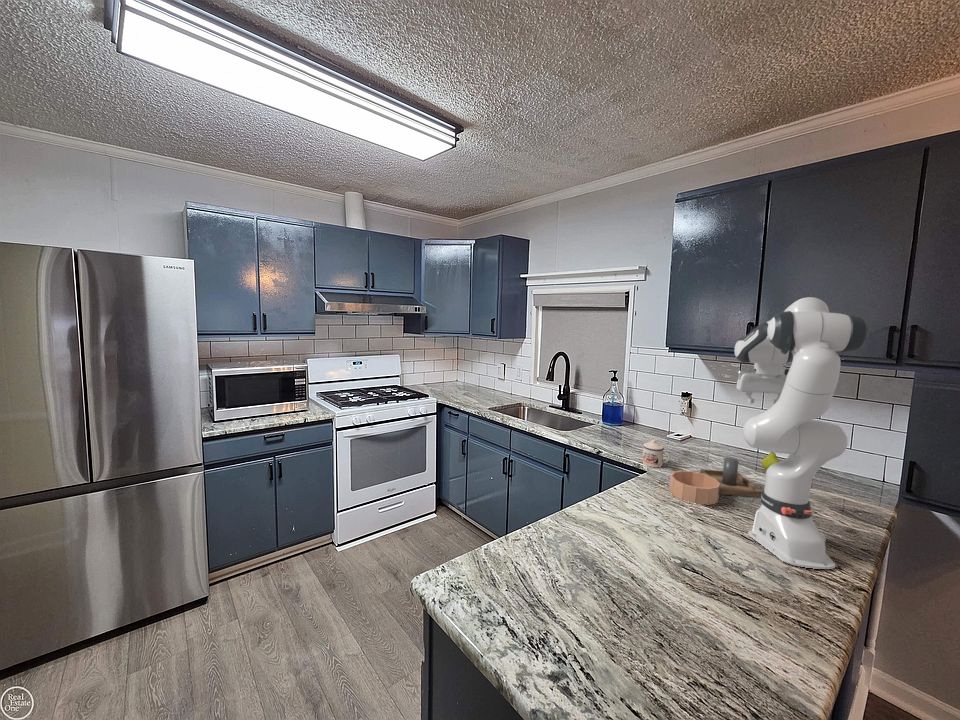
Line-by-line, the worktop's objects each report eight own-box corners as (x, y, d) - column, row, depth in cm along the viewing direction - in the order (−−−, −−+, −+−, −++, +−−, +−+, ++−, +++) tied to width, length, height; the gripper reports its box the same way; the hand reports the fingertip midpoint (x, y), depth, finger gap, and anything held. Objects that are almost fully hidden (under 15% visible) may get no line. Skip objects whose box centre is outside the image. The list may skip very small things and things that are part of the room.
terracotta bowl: (725, 507, 147) (727, 490, 146) (677, 503, 149) (679, 486, 148) (707, 487, 163) (708, 472, 162) (664, 484, 165) (665, 469, 165)
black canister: (738, 486, 162) (740, 462, 161) (725, 485, 163) (727, 461, 162) (732, 481, 167) (735, 458, 166) (719, 480, 168) (722, 457, 167)
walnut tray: (761, 498, 154) (762, 492, 154) (719, 495, 156) (720, 489, 156) (736, 477, 174) (737, 471, 174) (699, 474, 176) (700, 469, 176)
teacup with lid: (639, 464, 187) (640, 440, 185) (645, 459, 194) (646, 436, 192) (666, 471, 179) (668, 446, 178) (671, 465, 186) (673, 441, 185)
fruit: (771, 475, 177) (774, 449, 175) (757, 469, 183) (760, 444, 182) (783, 473, 179) (786, 447, 177) (768, 468, 185) (771, 443, 184)
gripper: (742, 369, 156) (739, 404, 158) (800, 371, 153) (796, 406, 155) (735, 367, 162) (731, 400, 164) (790, 369, 160) (786, 403, 161)
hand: (763, 403), depth 160 cm, fingers open, 8 cm apart
